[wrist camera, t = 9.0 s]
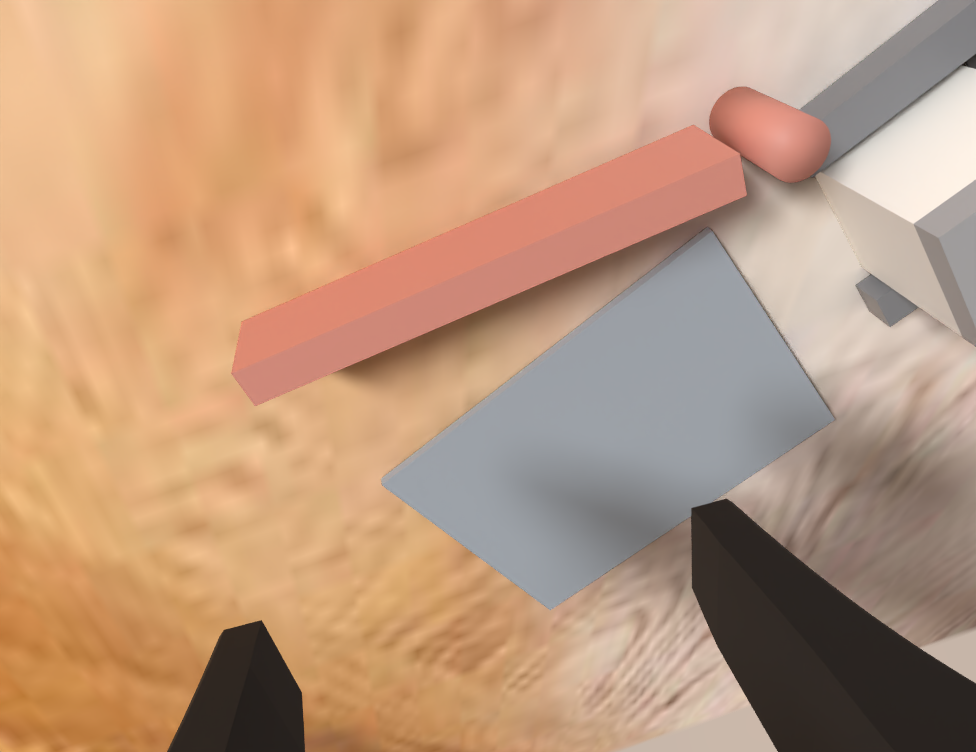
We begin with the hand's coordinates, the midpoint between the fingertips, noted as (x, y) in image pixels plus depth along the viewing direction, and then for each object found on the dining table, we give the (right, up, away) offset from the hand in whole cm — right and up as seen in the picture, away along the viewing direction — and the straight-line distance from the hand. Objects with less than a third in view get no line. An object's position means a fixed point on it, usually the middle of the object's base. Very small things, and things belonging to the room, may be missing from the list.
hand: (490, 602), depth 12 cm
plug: (+11, +9, +8) cm, 17 cm away
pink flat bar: (0, +8, +6) cm, 10 cm away
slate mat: (+4, +2, +11) cm, 12 cm away
